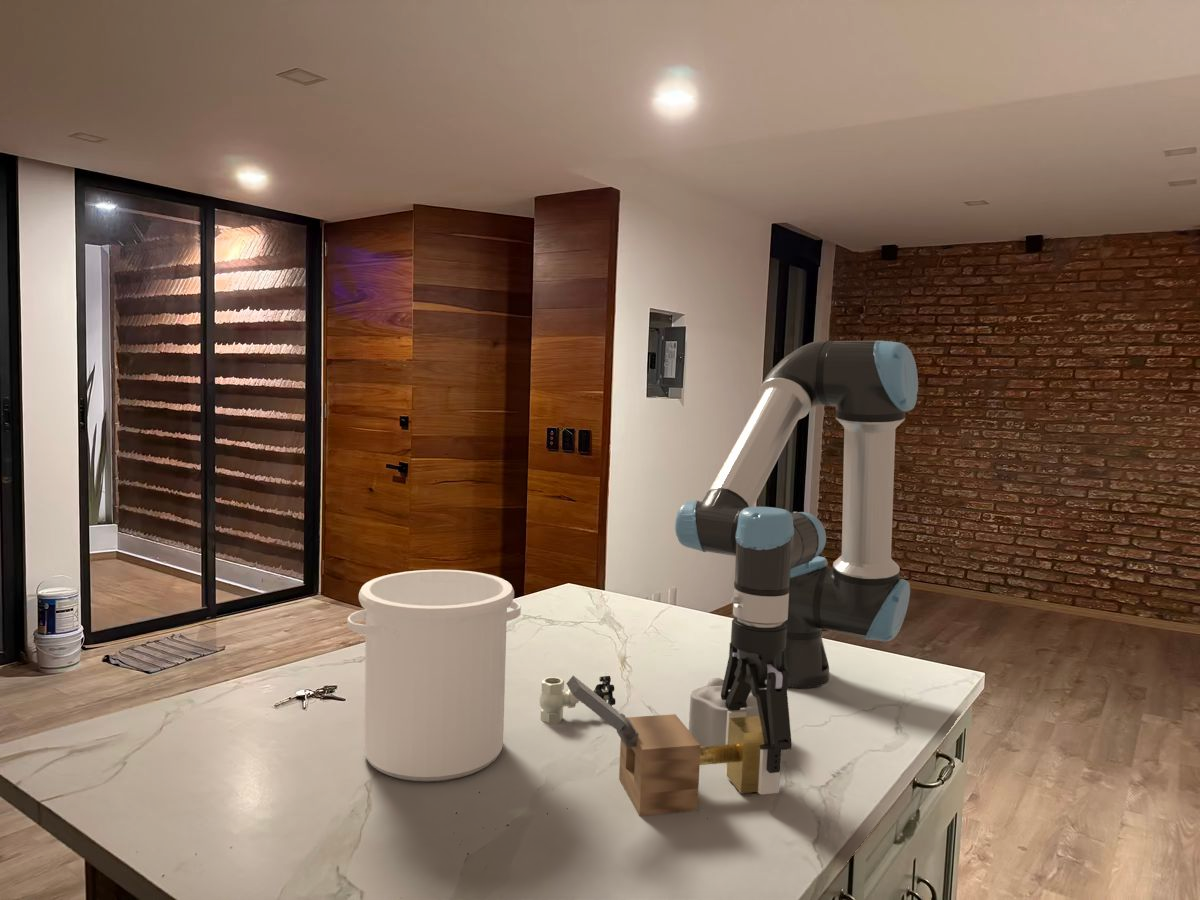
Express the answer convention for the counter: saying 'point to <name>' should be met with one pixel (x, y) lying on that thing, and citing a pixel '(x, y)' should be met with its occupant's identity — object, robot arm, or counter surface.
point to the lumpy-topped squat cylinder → (713, 713)
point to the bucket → (434, 671)
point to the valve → (567, 697)
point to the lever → (595, 703)
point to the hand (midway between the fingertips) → (750, 772)
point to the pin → (739, 753)
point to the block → (659, 764)
